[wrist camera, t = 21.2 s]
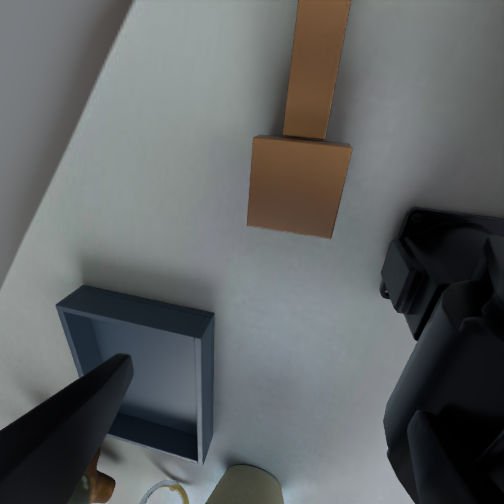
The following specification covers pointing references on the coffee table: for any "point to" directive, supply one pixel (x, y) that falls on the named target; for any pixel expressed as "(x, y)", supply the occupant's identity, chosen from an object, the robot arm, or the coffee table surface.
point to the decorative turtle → (93, 485)
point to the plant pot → (246, 487)
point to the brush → (304, 134)
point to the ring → (173, 487)
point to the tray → (149, 366)
